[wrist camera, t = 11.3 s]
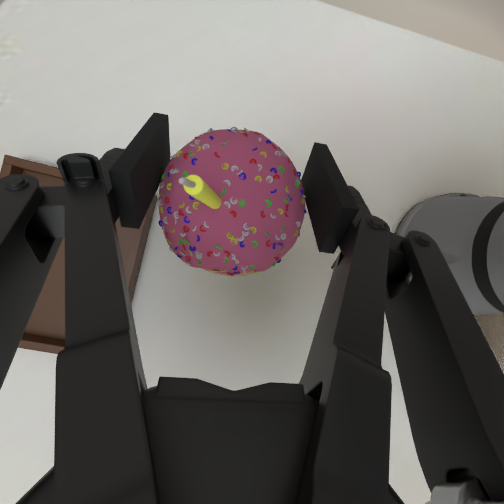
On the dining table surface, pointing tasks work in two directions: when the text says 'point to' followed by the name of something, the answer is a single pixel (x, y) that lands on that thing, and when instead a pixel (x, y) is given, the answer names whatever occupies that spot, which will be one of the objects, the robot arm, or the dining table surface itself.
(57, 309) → the tray
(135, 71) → the dining table surface
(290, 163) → the cupcake
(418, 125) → the dining table surface
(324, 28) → the dining table surface
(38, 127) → the dining table surface
